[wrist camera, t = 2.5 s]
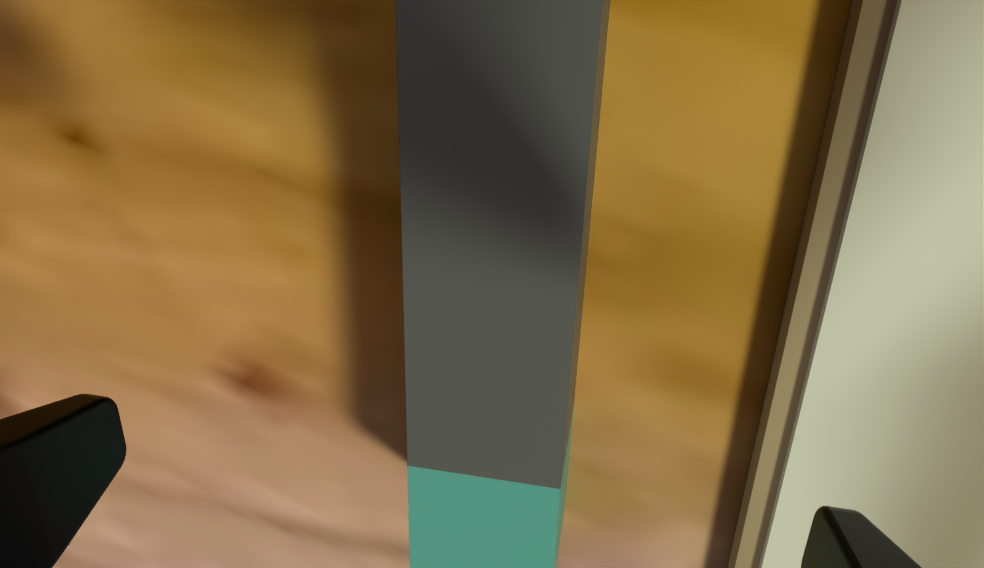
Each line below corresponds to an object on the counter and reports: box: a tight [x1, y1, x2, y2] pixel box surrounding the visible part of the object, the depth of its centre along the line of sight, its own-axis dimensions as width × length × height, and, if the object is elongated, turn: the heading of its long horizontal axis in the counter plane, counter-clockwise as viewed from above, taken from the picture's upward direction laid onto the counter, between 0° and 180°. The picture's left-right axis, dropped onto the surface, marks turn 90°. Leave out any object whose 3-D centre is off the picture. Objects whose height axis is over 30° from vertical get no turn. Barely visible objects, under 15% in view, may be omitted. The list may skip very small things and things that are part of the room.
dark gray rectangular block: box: [396, 0, 610, 568], centre depth 13 cm, size 3×12×3 cm, turn 179°
